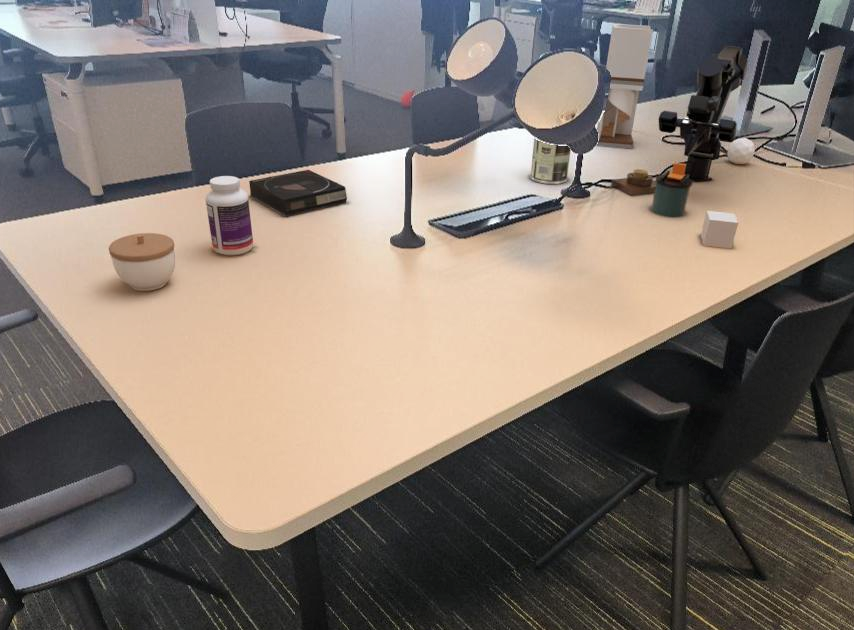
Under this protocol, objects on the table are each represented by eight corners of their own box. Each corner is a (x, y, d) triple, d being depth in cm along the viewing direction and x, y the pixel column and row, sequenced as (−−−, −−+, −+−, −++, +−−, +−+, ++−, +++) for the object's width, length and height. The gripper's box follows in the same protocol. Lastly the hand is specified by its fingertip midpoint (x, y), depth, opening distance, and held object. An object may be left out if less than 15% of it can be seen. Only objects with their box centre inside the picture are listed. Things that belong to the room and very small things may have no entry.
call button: (640, 175, 189) (642, 168, 189) (649, 179, 187) (650, 172, 186) (630, 176, 188) (631, 169, 187) (638, 180, 185) (639, 173, 184)
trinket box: (143, 302, 121) (133, 252, 116) (104, 286, 126) (93, 237, 121) (192, 281, 129) (185, 233, 124) (154, 266, 134) (145, 220, 129)
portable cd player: (287, 217, 159) (285, 200, 157) (250, 196, 170) (249, 180, 168) (347, 203, 169) (346, 187, 167) (309, 185, 180) (308, 169, 177)
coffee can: (564, 173, 198) (571, 123, 190) (569, 185, 189) (576, 132, 182) (528, 172, 198) (533, 121, 190) (531, 183, 189) (536, 130, 182)
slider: (671, 173, 174) (673, 162, 172) (685, 175, 172) (687, 164, 171) (666, 177, 170) (669, 166, 169) (680, 180, 169) (683, 169, 167)
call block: (643, 181, 194) (645, 169, 193) (664, 191, 188) (667, 179, 186) (610, 185, 190) (613, 172, 188) (631, 196, 183) (633, 182, 182)
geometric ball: (728, 170, 218) (723, 145, 218) (756, 163, 216) (750, 138, 216) (731, 164, 210) (725, 138, 211) (759, 156, 208) (753, 130, 209)
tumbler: (654, 203, 179) (661, 168, 175) (688, 209, 176) (696, 174, 171) (645, 212, 173) (653, 177, 168) (681, 219, 169) (689, 183, 165)
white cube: (700, 235, 161) (706, 210, 158) (727, 238, 160) (734, 213, 157) (703, 245, 156) (709, 219, 153) (731, 248, 155) (738, 222, 152)
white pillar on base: (596, 145, 226) (614, 27, 208) (595, 137, 235) (612, 23, 217) (632, 148, 225) (653, 29, 207) (630, 140, 234) (650, 25, 216)
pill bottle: (261, 245, 145) (254, 177, 137) (239, 260, 138) (231, 189, 131) (227, 239, 147) (219, 171, 139) (204, 253, 140) (194, 182, 133)
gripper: (668, 77, 175) (648, 130, 172) (746, 87, 168) (726, 143, 165) (669, 104, 185) (650, 155, 182) (742, 115, 178) (724, 168, 175)
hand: (686, 155), depth 176 cm, fingers closed
